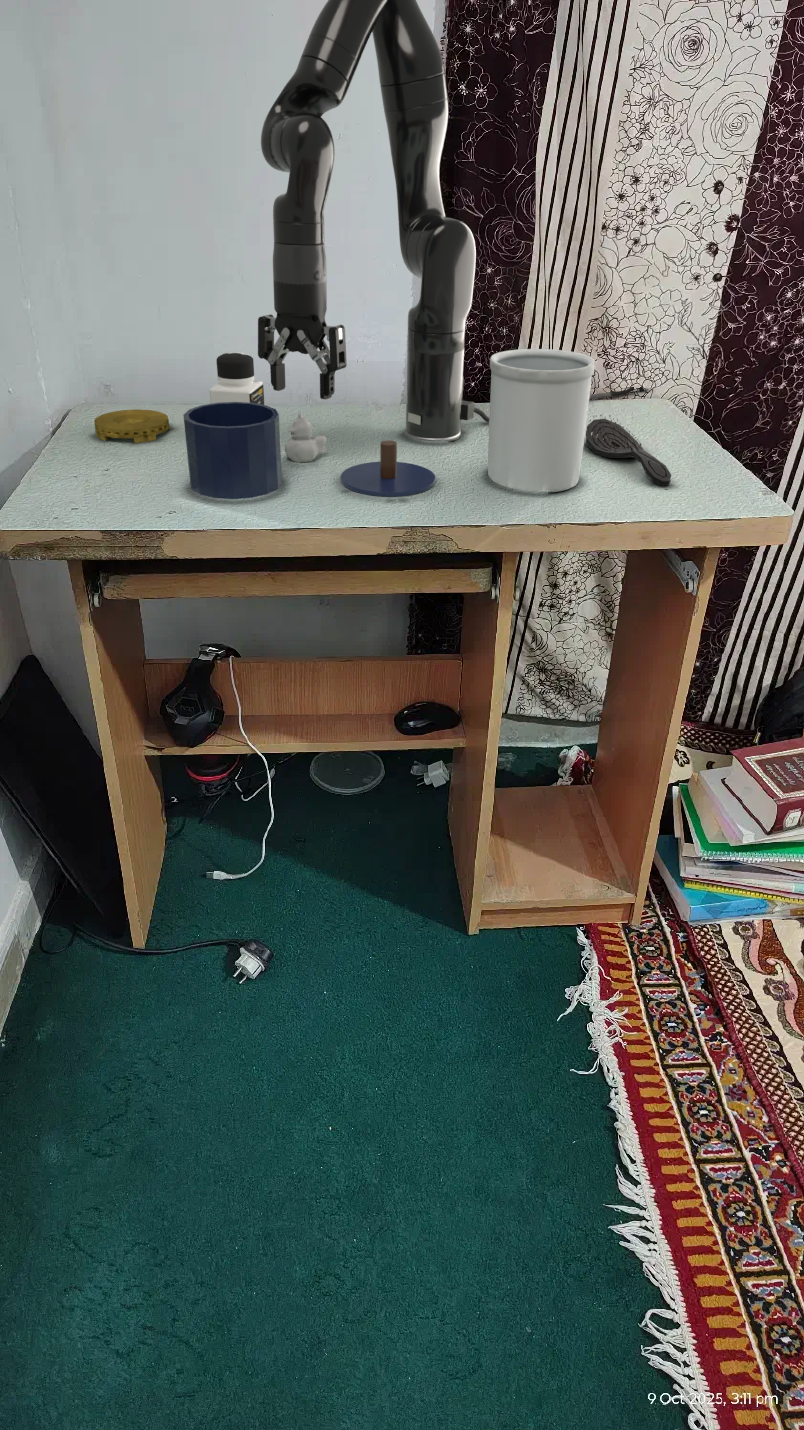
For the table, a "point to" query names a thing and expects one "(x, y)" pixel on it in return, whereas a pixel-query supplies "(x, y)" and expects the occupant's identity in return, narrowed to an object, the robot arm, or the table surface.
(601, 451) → the hairbrush
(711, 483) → the table surface
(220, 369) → the medicine bottle
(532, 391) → the utensil holder
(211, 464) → the pot
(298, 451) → the grey lumpy rounded piece
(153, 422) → the golden brown disc
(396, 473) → the lid
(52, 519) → the table surface
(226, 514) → the table surface
